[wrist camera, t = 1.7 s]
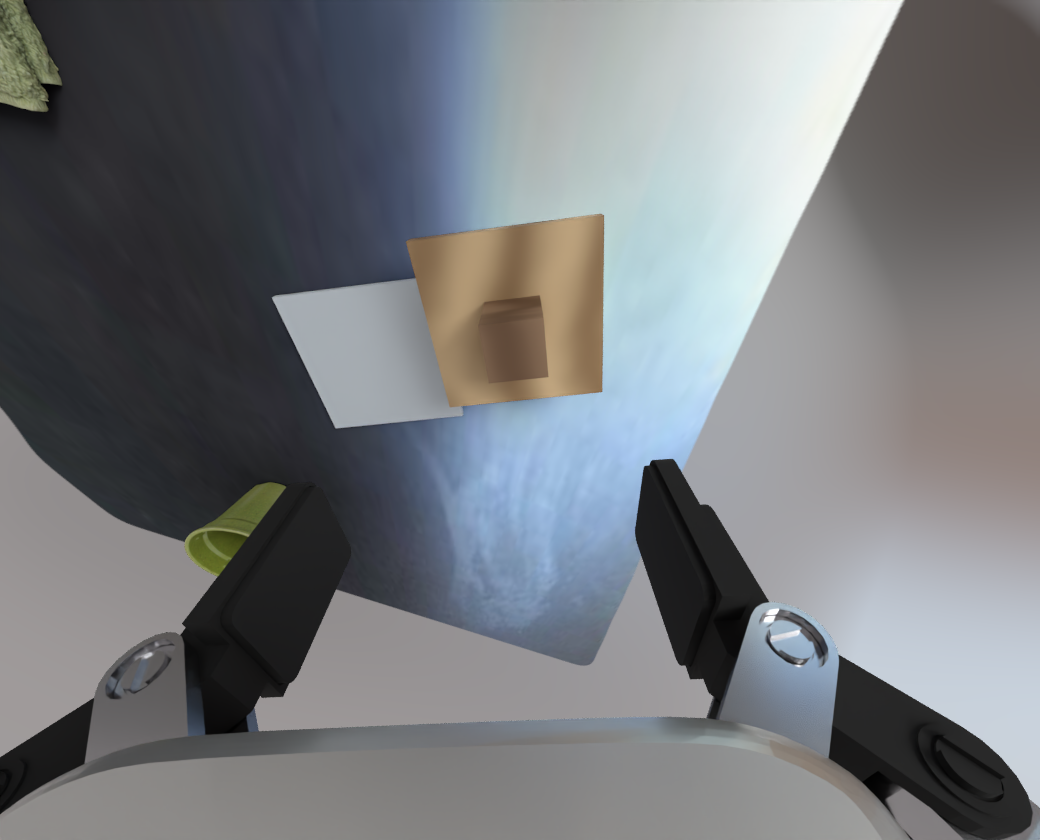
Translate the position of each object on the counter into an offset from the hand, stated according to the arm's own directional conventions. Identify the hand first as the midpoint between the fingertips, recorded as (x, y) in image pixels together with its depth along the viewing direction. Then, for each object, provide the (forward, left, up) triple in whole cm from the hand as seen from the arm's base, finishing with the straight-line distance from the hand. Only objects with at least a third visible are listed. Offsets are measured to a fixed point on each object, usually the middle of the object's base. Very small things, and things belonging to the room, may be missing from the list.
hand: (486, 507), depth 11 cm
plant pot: (+32, +22, -26) cm, 47 cm away
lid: (-1, +1, -20) cm, 20 cm away
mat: (+13, +5, -25) cm, 29 cm away
